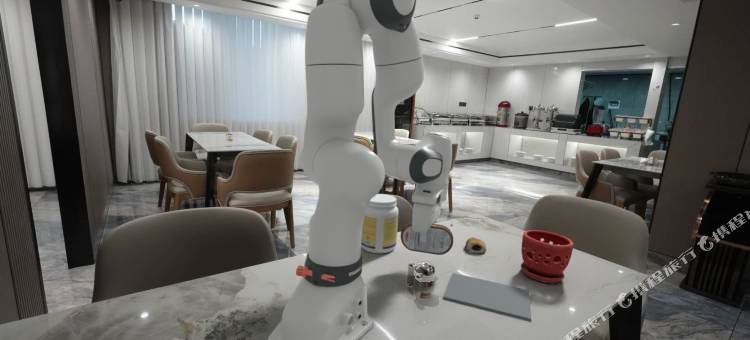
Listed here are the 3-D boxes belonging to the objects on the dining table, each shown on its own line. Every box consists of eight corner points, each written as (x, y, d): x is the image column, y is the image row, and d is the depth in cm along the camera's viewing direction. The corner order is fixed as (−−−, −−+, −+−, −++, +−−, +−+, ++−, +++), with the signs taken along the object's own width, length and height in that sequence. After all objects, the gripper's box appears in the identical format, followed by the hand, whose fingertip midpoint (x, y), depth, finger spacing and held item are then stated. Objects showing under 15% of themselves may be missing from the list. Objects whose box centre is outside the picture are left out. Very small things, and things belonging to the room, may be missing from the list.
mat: (531, 320, 78) (531, 318, 78) (443, 298, 85) (443, 296, 85) (528, 291, 91) (529, 290, 91) (452, 274, 98) (452, 272, 98)
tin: (451, 254, 98) (454, 225, 98) (452, 257, 95) (455, 228, 95) (399, 247, 101) (402, 218, 100) (398, 250, 97) (401, 220, 97)
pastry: (464, 242, 123) (465, 232, 123) (483, 244, 122) (485, 234, 121) (465, 252, 114) (467, 241, 114) (486, 255, 113) (488, 244, 112)
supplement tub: (392, 240, 121) (396, 193, 118) (399, 254, 109) (403, 203, 106) (358, 239, 119) (360, 192, 116) (360, 254, 107) (363, 202, 104)
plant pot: (571, 290, 93) (579, 249, 90) (519, 280, 97) (525, 240, 94) (562, 270, 105) (568, 233, 103) (516, 261, 109) (521, 225, 107)
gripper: (428, 184, 106) (423, 227, 109) (410, 196, 88) (404, 247, 90) (448, 187, 104) (442, 231, 106) (434, 200, 85) (428, 253, 87)
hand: (425, 239), depth 98 cm, fingers closed on tin, 3 cm apart
